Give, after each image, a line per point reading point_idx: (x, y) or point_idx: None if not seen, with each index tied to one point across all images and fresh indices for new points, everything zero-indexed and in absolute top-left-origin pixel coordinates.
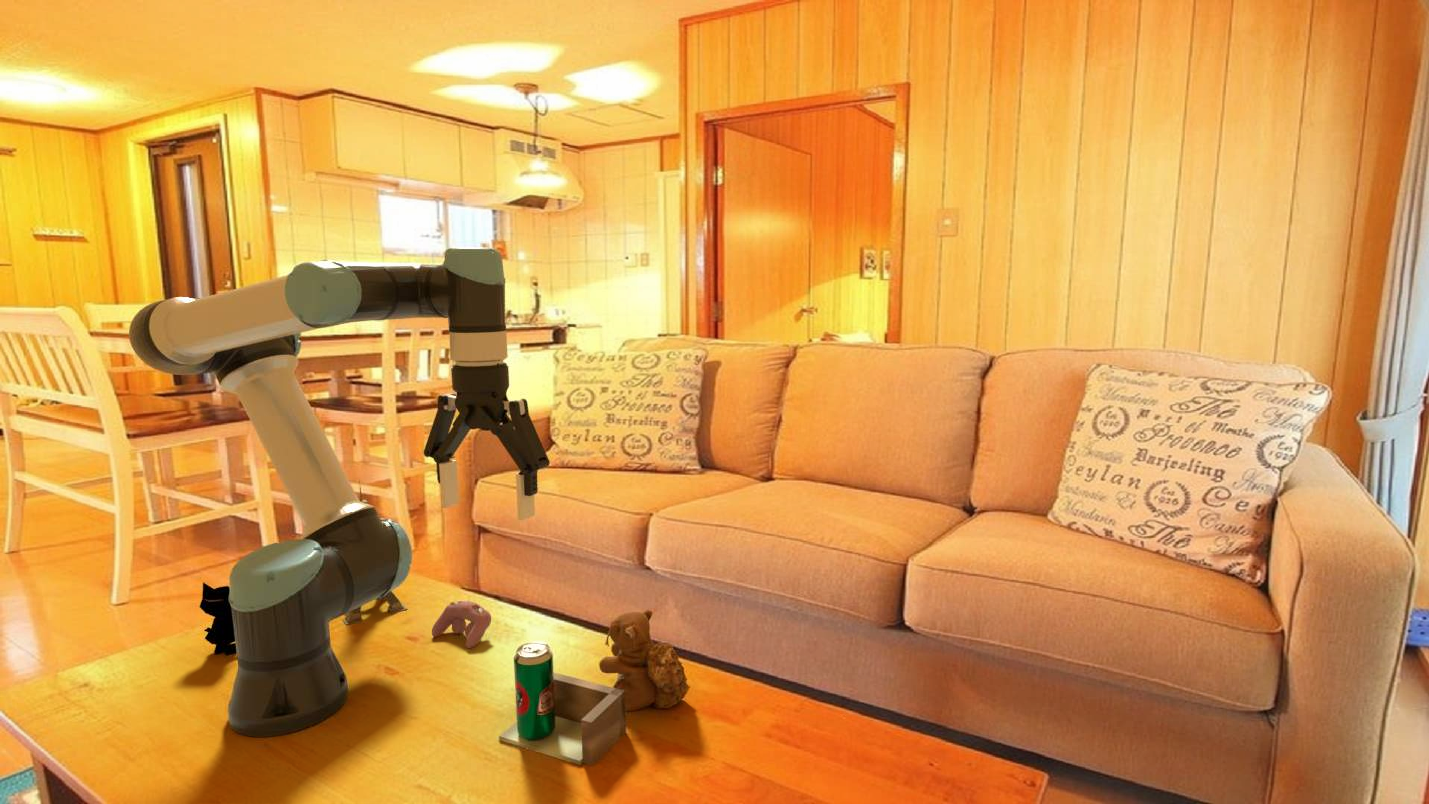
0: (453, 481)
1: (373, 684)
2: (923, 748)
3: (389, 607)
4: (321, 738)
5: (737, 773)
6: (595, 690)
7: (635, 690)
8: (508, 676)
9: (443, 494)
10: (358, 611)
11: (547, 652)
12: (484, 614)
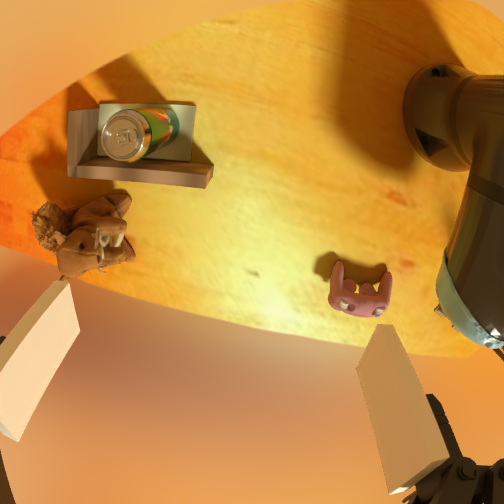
0: (383, 418)
1: (399, 168)
2: None
3: None
4: (385, 67)
5: (7, 153)
6: (92, 166)
7: (88, 207)
8: (259, 219)
9: (399, 358)
10: None
11: (101, 140)
12: (335, 301)
